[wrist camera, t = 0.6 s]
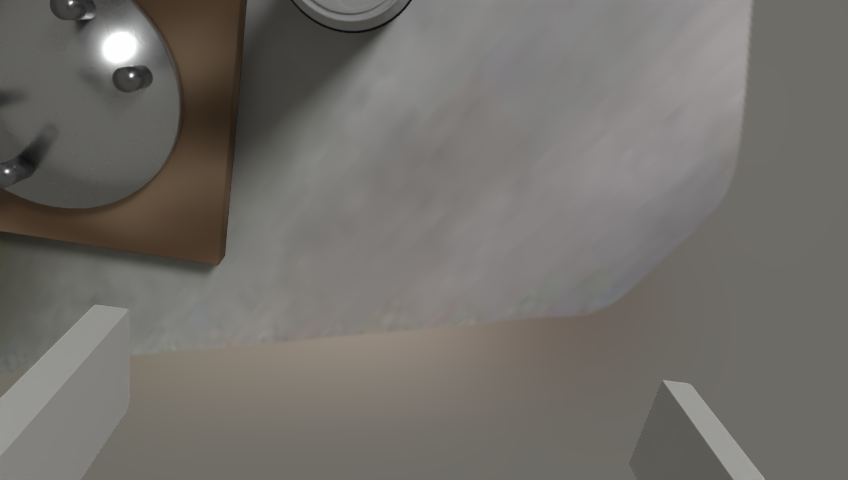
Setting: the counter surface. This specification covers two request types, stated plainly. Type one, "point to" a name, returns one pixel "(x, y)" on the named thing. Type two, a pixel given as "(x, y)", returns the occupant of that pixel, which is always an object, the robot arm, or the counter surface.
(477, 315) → the counter surface
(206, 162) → the base plate
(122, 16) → the flange
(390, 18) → the beverage can
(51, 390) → the robot arm
